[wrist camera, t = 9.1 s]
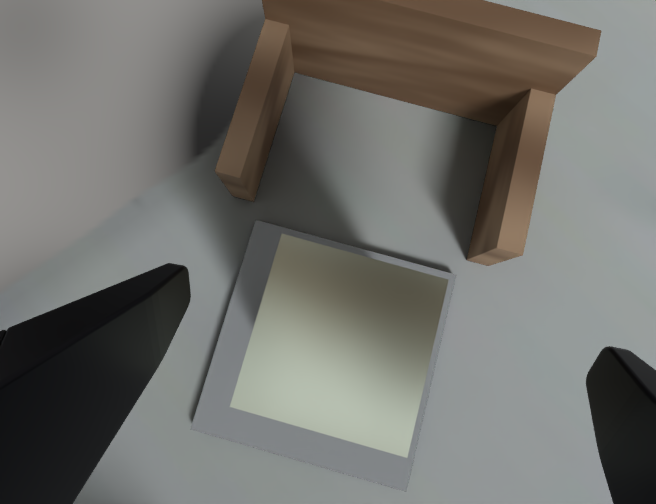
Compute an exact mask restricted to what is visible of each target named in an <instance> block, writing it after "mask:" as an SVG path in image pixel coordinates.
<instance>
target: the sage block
mask: <svg viewBox="0 0 656 504" xmlns="http://www.w3.org/2000/svg"><path fill="white" fill-rule="evenodd" d="M448 281H449V280H448V279H445V278H441V277H437V276H434V275H430V274H427V273H423V272H419V271H416V270H412V269H409V268H405V267H401V266H398V265H394V264H390V263H387V262H383V261H380V260H376V259H372V258H369V257H365V256H361V255H358V254H354V253H351V252H347V251H343V250H340V249H336V248H332V247H329V246H325V245H322V244H318V243H314V242H311V241H307V240H303V239H300V238H296V237H293V236H289V235H285V234H281V238H280V241H279V244H278V248H277V251H276V254H275V257H274V261H273V264H272V267H271V271H270V274H269V277H268V281H267V284H266V287H265V291H264V294H263V297H262V301H261V304H260V307H259V311H258V314H257V317H256V321H255V324H254V327H253V331H252V334H251V337H250V341H249V344H248V347H247V351H246V354H245V357H244V361H243V364H242V367H241V371H240V374H239V377H238V381H237V384H236V387H235V391H234V394H233V397H232V401H231V404H230V407H232V408H235V409H239V410H242V411H246V412H249V413H253V414H256V415H260V416H263V417H267V418H270V419H274V420H277V421H281V422H284V423H288V424H291V425H294V426H298V427H301V428H305V429H308V430H312V431H315V432H319V433H322V434H326V435H329V436H333V437H336V438H340V439H343V440H347V441H350V442H353V443H357V444H360V445H364V446H367V447H371V448H374V449H378V450H381V451H385V452H388V453H392V454H395V455H399V456H402V457H405V458H407V457H408V453H409V449H410V444H411V440H412V436H413V431H414V427H415V423H416V418H417V414H418V410H419V406H420V401H421V397H422V393H423V388H424V384H425V380H426V375H427V371H428V367H429V363H430V358H431V354H432V350H433V345H434V341H435V337H436V333H437V328H438V324H439V320H440V315H441V311H442V307H443V302H444V298H445V294H446V290H447V285H448Z"/></svg>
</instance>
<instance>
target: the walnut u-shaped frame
mask: <svg viewBox="0 0 656 504" xmlns="http://www.w3.org/2000/svg"><path fill="white" fill-rule="evenodd" d="M262 3H263V9H264V14H265V21H264V25H263V28H262V30H261V33H260V36H259V40H258V42H257V45H256V48H255V51H254V54H253V57H252V61H251V63H250V66H249V70H248V73H247V75H246V78H245V82H244V85H243V88H242V90H241V94H240V97H239V99H238V102H237V105H236V108H235V111H234V114H233V117H232V120H231V123H230V126H229V129H228V132H227V135H226V138H225V141H224V144H223V147H222V150H221V153H220V156H219V159H218V162H217V165H216V168H215V172H216V174H217V175H218V176H219V178H220V179H221V181H222V182H223V183H224V185H225V186H226V187H227V189H228V190H229V192H230V193H231V194H232V196H234V197H238V198H242V199H245V200H249V201H253V202H254V199H255V196H256V193H257V190H258V186H259V183H260V180H261V177H262V174H263V171H264V167H265V164H266V161H267V158H268V155H269V151H270V148H271V145H272V142H273V139H274V136H275V132H276V129H277V126H278V123H279V120H280V116H281V113H282V110H283V107H284V104H285V101H286V97H287V94H288V91H289V88H290V85H291V81H292V78H293V75H294V72H295V73H299V74H302V75H306V76H310V77H314V78H318V79H321V80H325V81H329V82H333V83H336V84H340V85H344V86H348V87H352V88H355V89H359V90H363V91H367V92H370V93H374V94H378V95H382V96H386V97H389V98H393V99H397V100H401V101H404V102H408V103H412V104H416V105H420V106H423V107H427V108H431V109H435V110H438V111H442V112H446V113H450V114H454V115H457V116H461V117H465V118H469V119H472V120H476V121H480V122H484V123H488V124H491V125H495V126H497V128H496V132H495V137H494V141H493V145H492V150H491V154H490V159H489V163H488V167H487V172H486V176H485V181H484V185H483V189H482V194H481V198H480V203H479V207H478V211H477V216H476V220H475V225H474V229H473V233H472V238H471V242H470V247H469V251H468V255H467V260H468V261H472V262H475V263H479V264H483V265H486V266H490V265H493V264H496V263H499V262H502V261H506V260H509V259H512V258H515V257H518V256H522V255H523V252H524V247H525V242H526V237H527V233H528V228H529V223H530V218H531V213H532V208H533V203H534V199H535V194H536V189H537V184H538V179H539V174H540V170H541V165H542V160H543V155H544V150H545V145H546V140H547V136H548V131H549V126H550V121H551V116H552V111H553V107H554V102H555V97H556V94H557V93H558V92H559V91H560V90H562V89H563V88H564V87H565V86H566V85H567V84H568V83H569V82H570V81H571V80H572V79H573V78H574V77H575V76H576V75H577V74H578V73H579V72H580V71H582V70H583V69H584V68H585V67H586V66H587V65H588V64H589V63H590V62H591V61H592V60H593V59H594V58H595V57H596V56H597V50H598V45H599V40H600V35H601V30H597V29H593V28H589V27H585V26H581V25H577V24H574V23H570V22H566V21H562V20H558V19H554V18H550V17H546V16H542V15H539V14H535V13H531V12H527V11H523V10H519V9H515V8H511V7H507V6H504V5H500V4H496V3H492V2H488V1H484V0H262Z"/></svg>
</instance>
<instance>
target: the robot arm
mask: <svg viewBox="0 0 656 504" xmlns="http://www.w3.org/2000/svg"><path fill="white" fill-rule="evenodd" d="M190 297H191V294H190V283H189V273H188V269H187V268H186V267H185V266H183V265H177V264H172V263H168V264H165V265H163V266H160V267H158V268H155V269H153V270H150V271H148V272H145V273H143V274H140V275H138V276H135V277H133V278H131V279H128V280H126V281H123V282H121V283H118V284H116V285H113V286H111V287H108V288H106V289H103V290H101V291H98V292H96V293H93V294H91V295H88V296H86V297H84V298H81V299H79V300H76V301H74V302H71V303H69V304H66V305H64V306H61V307H59V308H56V309H54V310H51V311H49V312H46V313H44V314H42V315H39V316H37V317H34V318H32V319H29V320H27V321H24V322H22V323H19V324H17V325H14V326H12V327H9V328H8V329H7V331H6V330H2V331H0V504H73V502H74V501H75V499H76V497H77V496H78V494H79V493H80V491H81V489H82V488H83V486H84V485H85V483H86V481H87V480H88V478H89V477H90V475H91V473H92V472H93V470H94V469H95V467H96V465H97V464H98V462H99V461H100V459H101V458H102V456H103V454H104V453H105V451H106V450H107V448H108V446H109V445H110V443H111V442H112V440H113V438H114V437H115V435H116V434H117V432H118V430H119V429H120V427H121V426H122V424H123V422H124V421H125V419H126V418H127V416H128V414H129V413H130V411H131V410H132V408H133V406H134V405H135V403H136V402H137V400H138V398H139V397H140V395H141V394H142V392H143V391H144V389H145V387H146V386H147V384H148V383H149V381H150V379H151V378H152V376H153V375H154V373H155V371H156V370H157V368H158V366H159V365H160V363H161V361H162V359H163V357H164V356H165V354H166V352H167V350H168V347H169V345H170V343H171V341H172V339H173V337H174V335H175V333H176V331H177V329H178V327H179V324H180V322H181V320H182V318H183V316H184V314H185V312H186V310H187V308H188V305H189V303H190ZM586 387H587V393H588V398H589V404H590V409H591V415H592V420H593V426H594V431H595V437H596V442H597V447H598V452H599V456H600V459H601V463H602V467H603V470H604V473H605V477H606V480H607V483H608V487H609V490H610V493H611V497H612V500H613V503H614V504H656V370H654V369H653V368H652V367H651V366H649V365H648V364H647V363H645V362H644V361H643V360H641V359H640V358H639V357H637V356H636V355H635V354H633V353H632V352H631V351H629V350H626V349H621V348H616V347H610V346H609V347H605V348H604V349H602V351H601V352H600V354H599V355H598V357H597V359H596V360H595V362H594V364H593V365H592V367H591V369H590V370H589V372H588V374H587V377H586Z"/></svg>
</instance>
